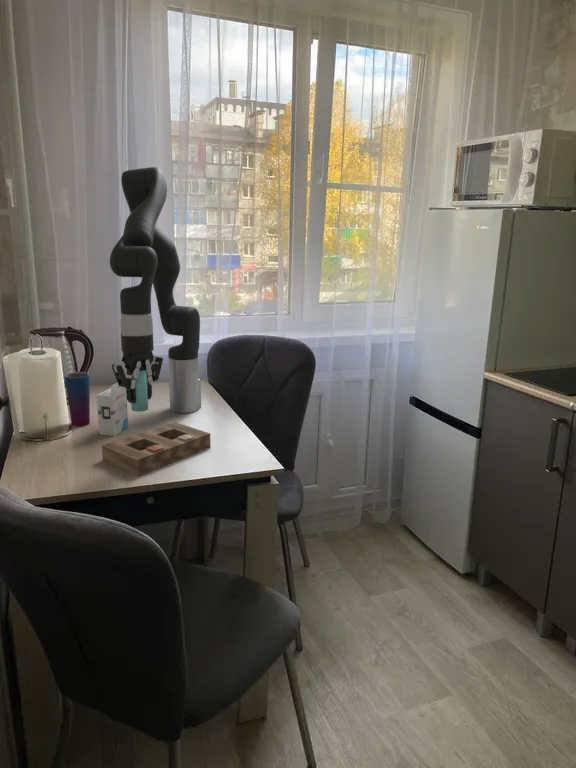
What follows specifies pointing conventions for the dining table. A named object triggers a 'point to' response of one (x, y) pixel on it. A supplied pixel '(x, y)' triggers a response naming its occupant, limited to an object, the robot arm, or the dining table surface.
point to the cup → (78, 397)
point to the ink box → (112, 410)
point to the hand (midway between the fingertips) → (139, 400)
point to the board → (155, 447)
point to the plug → (141, 392)
